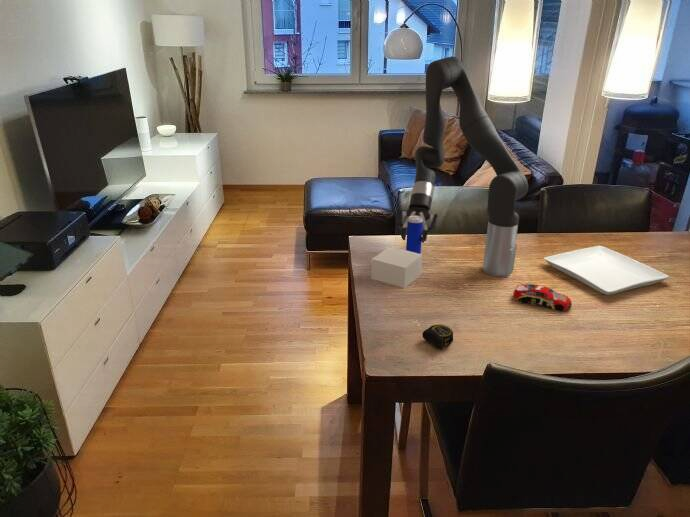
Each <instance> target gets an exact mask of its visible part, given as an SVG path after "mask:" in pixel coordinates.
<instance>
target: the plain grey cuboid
mask: <svg viewBox="0 0 690 517" xmlns="http://www.w3.org/2000/svg"><path fill="white" fill-rule="evenodd" d="M423 258H424V257H423V254H422V253H421V254H418V253H414V252H410V251H406V249H401V248H398V247H392V246H389V247H387V248H386V249H385V250H382V251H381V252H380V253H378V254H377V255H376V256H374V257H373V258H371V273H370V274H371V275H370V276H371V277H370V278H371V279H372V280H375V281H379V282H382V283H385V284H388V285H392V286H395V287H399V288H403V289H405V288H406V287H408V286H409V285H410V284H412V282H414V281H415V280H416V279H418V278H419V277H420V275H422V270H423V269H422V268H423Z"/></svg>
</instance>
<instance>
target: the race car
mask: <svg viewBox="0 0 690 517" xmlns="http://www.w3.org/2000/svg"><path fill="white" fill-rule="evenodd" d="M512 297H513V299H514V300H516V301H518V302H521V304H525V305H528V304H529V305H533V306H538V307H542V308H547V309H551V310H555V311H556V312H563V311H568V310H570V309H571V308H572V306H573V304H572V300H571V298H570V297H569V296H568V295H565V294H563V293H561V292H560V293H559V292H557V291H555V290H553V288H550V287H548V286H545V285H540V284H535V283H534V284H532V283H527V284H517V286H516V288H515V289H514V291H513V296H512Z"/></svg>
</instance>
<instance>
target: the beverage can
mask: <svg viewBox="0 0 690 517" xmlns="http://www.w3.org/2000/svg"><path fill="white" fill-rule="evenodd" d="M407 219H408V223H407V234H406V243H405V244H406V246H405V247H406V248H405V250H406V251H410V252H414V253H418V254H422V253H421V252H422V241H421V240H422V234H423V219H422V217H421V216H417V215H413V216H409V218H408V217H407Z"/></svg>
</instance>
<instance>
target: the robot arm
mask: <svg viewBox="0 0 690 517" xmlns="http://www.w3.org/2000/svg"><path fill="white" fill-rule="evenodd" d="M449 88H451V89H452V90H453V93H454V94H455V96H456V98H457V101H458V106H459V113H458V114H459V116H458V119H459V120H458V123H459V128H460V131H461V133H462V134H463V136H464V139H465V140H466V142H467V143H468V145H469V147H470V148H471V149H473V151H475V152H476V153H477V154H478V155H479V156H480V157H482V158H483V159H484V160H485V161H486V162H488V163H489V165H490V166H491V168H492V169H493V171H494V173H495V174H496V176H495V177H493V178H492V179H491V181H490V183H489V187H488V194H487V208H486V209H487V210H486V211H487V215H488V222H487V230H486V239H485V246H484V256H483V262H482V263H483V264H482V271H483V272H484V273H486V274H487V275H490V276H495V277H505V278H509V276H511V273H513V271H514V268H515V261H516V260H515V259H516V254H517V248H518V245H517V243H516V242H517V234H518V229H519V228H518V227H519V223H520V222H519V221H520V215H519V214H518V213H517V212H516V211H515V206H516V201H518V200H520V199H522V198H524V197H525V196H526V195H527V193H528V191H529V183H528V180H527V177H526V176H525V174H524V173H523V171H522V169H520V167H519V165H518V164H517V163H516V161H515V160H514V158H513V157H512V155H511V153H509V151H508V149H507V147H506V146H505V143H504V142H503V140H502V139H501V136H500V135H499V133H498V132H497V130H496V127H495V125H494V124H493V122H492V120H491V119H490V117H489V115H488V114H487V112H486V110H485V108H484V107H483V105H482V103H481V101H480V99H479V97H478V95H477V93H476V91H475V89H474V87H473V85H472V82H471V80H470V78H469V76H468V73H467V71H466V69H465V67H464V65H463V63H462V61H461V60H460V59H459V58H458V57H456V56H447V57H443V58H439V59H436V60H433V61H432V62H430V63H429V64H428V65H427V67H426V71H425V108H426V109H425V120H424V128H423V135H422V140H423V141H422V142H423V143H424V144H426V145H427V146H425V145H421V146H419V147H418V148H417V149H416V151H415V154H414V159H415V170H416V173H415V179H414V184H413V187H412V191H411V194H410V200H409V205H408V209H407V210H406V211H403V210H401V209H400V210H398V215H397V217H398V219H397V225H398V228H399V229H401V234H400V236H401V239H402V241H406V239H407V223H408V218H409V216H413V215H417V216H421V217H422V219H423V227H422V229H423V230H422V240H421V241H422V242H421V244H422V243H425V242H426V241H427V238H428V234H429V233H434V232H435V229H436V226H437V223H438V219H439V216H438V213H437V214H436V213H434V214H433V213H431V208H432V203H433V199H434V190H435V183H436V178H437V176H436V174H437V173H436V172H435V171H434V170H432V169H430V168H434V169H439V168H441V167H442V165H444V163H445V152H444V151H445V150H444V136H445V131H446V117H445V113H444V111H443V109H442V106H441V96H442V93H443V90H446V89H449ZM428 167H429V168H428ZM406 216H407V218H406V221H405V222H404V223H403V221H404V220H403V219H404V218H405V217H406ZM429 219H430V220H431V223H430V226H429V227H428V226H427V221H428V220H429Z"/></svg>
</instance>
